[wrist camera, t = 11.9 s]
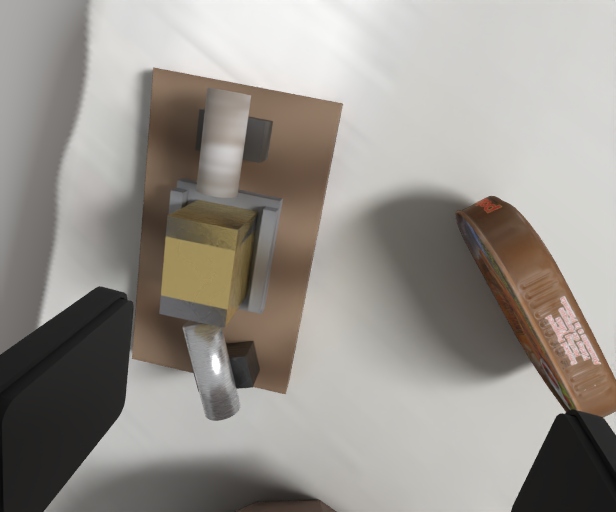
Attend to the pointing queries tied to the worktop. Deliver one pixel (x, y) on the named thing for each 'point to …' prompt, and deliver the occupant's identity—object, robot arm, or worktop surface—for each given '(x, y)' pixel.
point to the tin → (539, 306)
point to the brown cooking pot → (288, 506)
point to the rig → (238, 193)
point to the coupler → (207, 262)
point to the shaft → (220, 368)
